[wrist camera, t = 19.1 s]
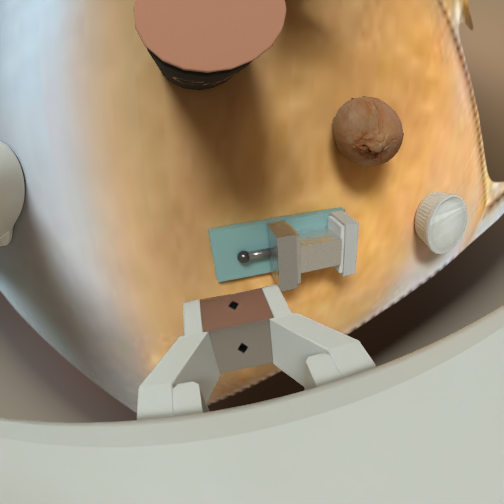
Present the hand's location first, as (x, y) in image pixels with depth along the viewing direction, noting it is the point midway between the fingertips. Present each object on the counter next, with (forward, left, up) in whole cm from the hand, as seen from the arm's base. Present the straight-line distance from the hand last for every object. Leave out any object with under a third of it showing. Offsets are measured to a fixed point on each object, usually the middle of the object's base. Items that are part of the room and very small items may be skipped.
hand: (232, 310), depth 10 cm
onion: (+22, +2, -31) cm, 38 cm away
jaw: (+7, -14, -30) cm, 34 cm away
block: (+14, -14, -30) cm, 36 cm away
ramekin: (+40, -14, -32) cm, 53 cm away
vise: (+10, -14, -31) cm, 35 cm away
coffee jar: (+2, +14, -31) cm, 34 cm away
